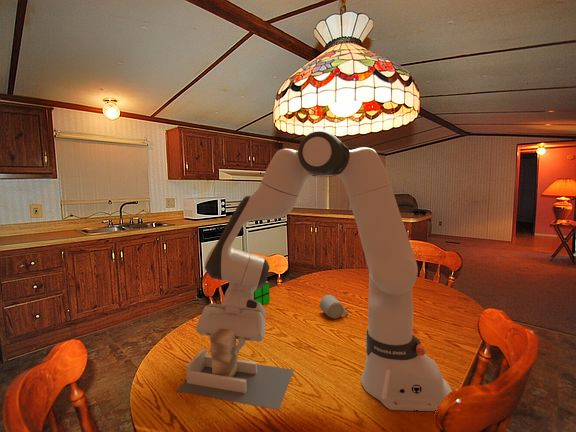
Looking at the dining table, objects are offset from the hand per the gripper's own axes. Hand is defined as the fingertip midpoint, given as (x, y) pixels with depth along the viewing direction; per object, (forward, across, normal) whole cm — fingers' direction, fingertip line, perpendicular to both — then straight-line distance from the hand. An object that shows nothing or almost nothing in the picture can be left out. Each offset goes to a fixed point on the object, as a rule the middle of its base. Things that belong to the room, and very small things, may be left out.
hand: (223, 354), depth 82 cm
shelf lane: (+5, +4, +6) cm, 9 cm away
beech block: (+4, 0, +5) cm, 6 cm away
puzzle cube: (-32, -11, +44) cm, 55 cm away
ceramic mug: (-29, +25, +41) cm, 56 cm away
